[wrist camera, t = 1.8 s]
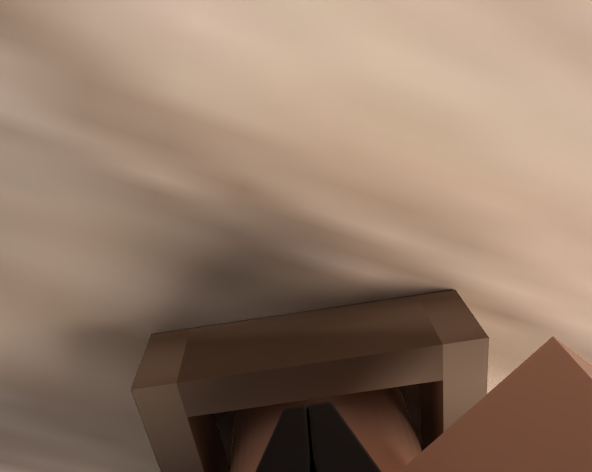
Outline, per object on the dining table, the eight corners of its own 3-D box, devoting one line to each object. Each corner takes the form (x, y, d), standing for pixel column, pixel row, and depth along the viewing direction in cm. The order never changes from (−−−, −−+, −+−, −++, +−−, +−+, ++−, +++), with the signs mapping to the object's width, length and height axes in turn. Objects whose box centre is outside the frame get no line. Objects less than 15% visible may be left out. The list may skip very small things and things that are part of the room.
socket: (454, 496, 18) (479, 560, 16) (215, 530, 18) (208, 598, 16) (455, 289, 14) (488, 337, 12) (151, 334, 14) (130, 389, 12)
